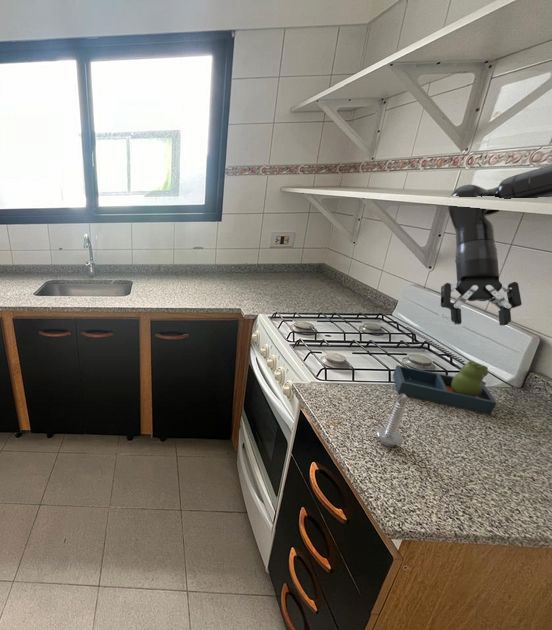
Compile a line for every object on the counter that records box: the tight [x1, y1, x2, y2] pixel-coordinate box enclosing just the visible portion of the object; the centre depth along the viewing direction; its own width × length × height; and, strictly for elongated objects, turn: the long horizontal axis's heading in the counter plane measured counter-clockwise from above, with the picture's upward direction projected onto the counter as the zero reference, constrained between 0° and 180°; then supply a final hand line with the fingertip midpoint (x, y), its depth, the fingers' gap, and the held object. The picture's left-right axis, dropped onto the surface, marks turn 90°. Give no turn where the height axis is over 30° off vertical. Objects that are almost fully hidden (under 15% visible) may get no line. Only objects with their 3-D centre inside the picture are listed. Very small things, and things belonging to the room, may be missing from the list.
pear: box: [451, 360, 489, 397], centre depth 87 cm, size 6×5×10 cm
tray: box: [392, 364, 498, 416], centre depth 90 cm, size 18×10×4 cm, turn 62°
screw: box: [374, 394, 408, 448], centre depth 73 cm, size 13×5×5 cm
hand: (480, 324), depth 85 cm, fingers open, 8 cm apart
